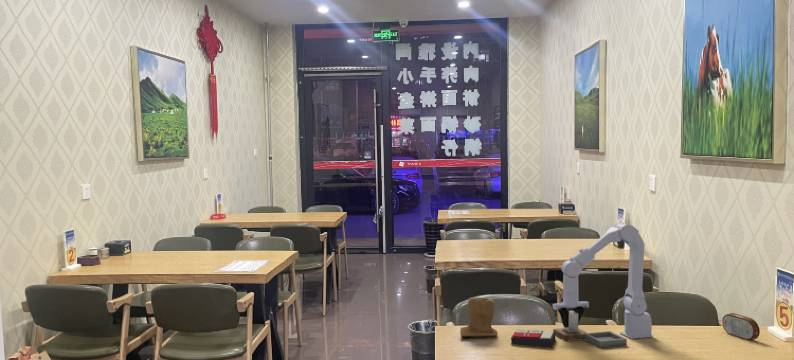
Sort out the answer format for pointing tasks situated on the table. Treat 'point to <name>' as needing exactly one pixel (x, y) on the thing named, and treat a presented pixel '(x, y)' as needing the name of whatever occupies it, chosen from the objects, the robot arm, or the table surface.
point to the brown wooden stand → (479, 318)
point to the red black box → (533, 338)
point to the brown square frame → (566, 336)
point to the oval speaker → (741, 326)
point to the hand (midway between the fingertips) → (571, 326)
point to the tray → (605, 339)
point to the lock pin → (572, 323)
